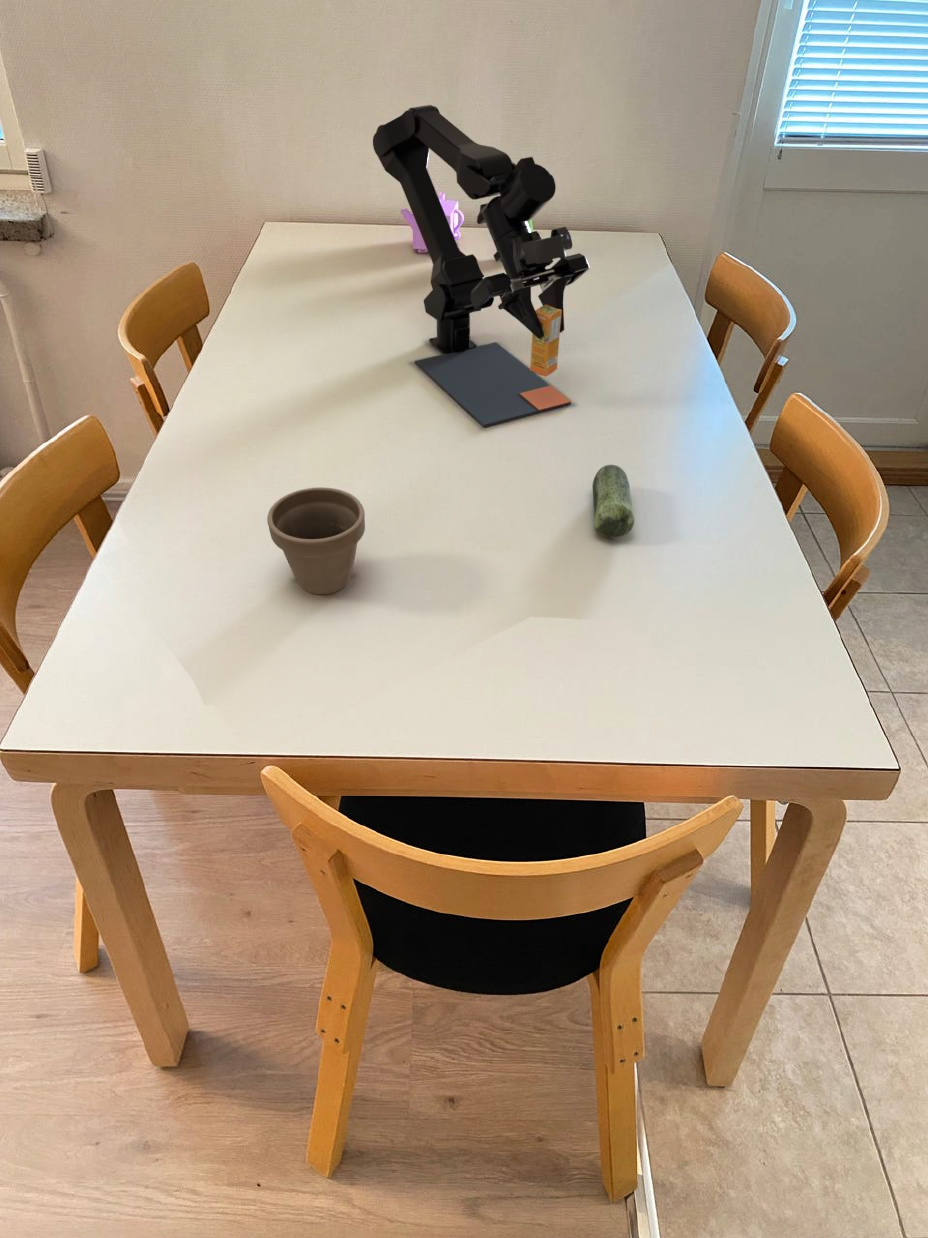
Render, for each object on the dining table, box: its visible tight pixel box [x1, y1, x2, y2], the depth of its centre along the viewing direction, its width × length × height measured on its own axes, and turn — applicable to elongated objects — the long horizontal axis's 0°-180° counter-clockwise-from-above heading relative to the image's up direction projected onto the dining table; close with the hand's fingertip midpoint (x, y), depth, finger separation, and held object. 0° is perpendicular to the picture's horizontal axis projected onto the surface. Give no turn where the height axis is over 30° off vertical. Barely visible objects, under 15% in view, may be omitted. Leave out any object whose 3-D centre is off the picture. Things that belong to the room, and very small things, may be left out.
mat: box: [414, 341, 572, 428], centre depth 159 cm, size 24×16×1 cm, turn 29°
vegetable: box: [592, 464, 635, 539], centre depth 130 cm, size 14×5×5 cm, turn 176°
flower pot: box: [266, 486, 366, 595], centre depth 117 cm, size 12×11×10 cm
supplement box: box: [529, 304, 562, 377], centre depth 147 cm, size 3×3×10 cm
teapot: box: [400, 191, 465, 254], centre depth 201 cm, size 18×13×10 cm
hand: (551, 334), depth 145 cm, fingers closed on supplement box, 3 cm apart
